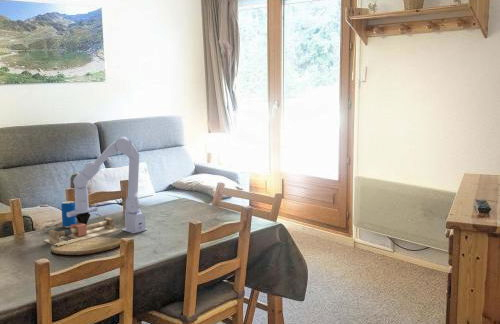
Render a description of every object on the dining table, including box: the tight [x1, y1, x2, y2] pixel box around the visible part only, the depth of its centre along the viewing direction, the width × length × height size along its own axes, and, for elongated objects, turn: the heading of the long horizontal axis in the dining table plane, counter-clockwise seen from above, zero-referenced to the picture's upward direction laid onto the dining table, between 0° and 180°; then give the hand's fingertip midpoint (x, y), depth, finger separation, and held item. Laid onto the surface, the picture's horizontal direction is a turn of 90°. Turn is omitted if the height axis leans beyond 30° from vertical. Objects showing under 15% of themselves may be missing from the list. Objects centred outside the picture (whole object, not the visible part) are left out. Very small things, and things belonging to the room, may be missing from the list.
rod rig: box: [43, 216, 120, 245], centre depth 224 cm, size 30×12×5 cm, turn 140°
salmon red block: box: [69, 222, 87, 236], centre depth 223 cm, size 4×7×5 cm, turn 50°
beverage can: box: [61, 200, 78, 229], centre depth 239 cm, size 6×6×12 cm
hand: (83, 229), depth 227 cm, fingers closed
